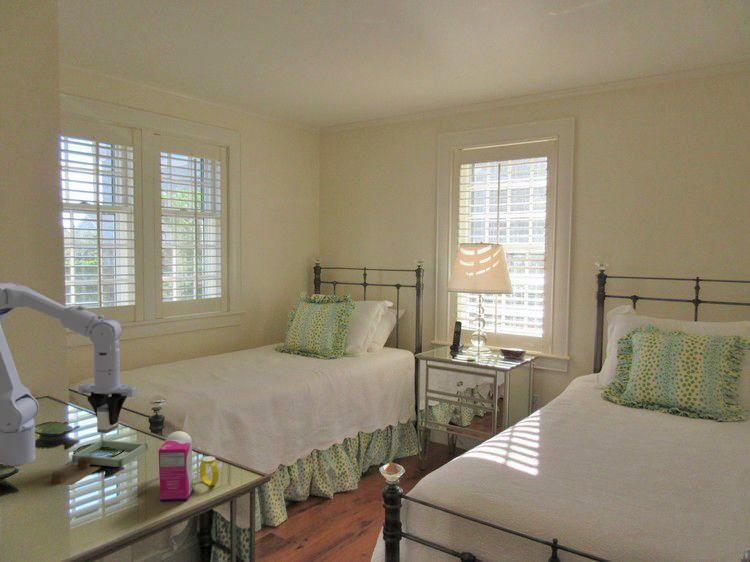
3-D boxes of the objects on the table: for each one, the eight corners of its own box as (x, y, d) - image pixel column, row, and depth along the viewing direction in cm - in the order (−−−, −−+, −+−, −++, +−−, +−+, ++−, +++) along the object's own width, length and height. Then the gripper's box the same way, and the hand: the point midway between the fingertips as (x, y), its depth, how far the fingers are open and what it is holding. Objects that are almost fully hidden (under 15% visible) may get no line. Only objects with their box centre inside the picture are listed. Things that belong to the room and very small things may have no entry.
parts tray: (72, 465, 135) (72, 455, 135) (101, 449, 146) (101, 439, 146) (121, 470, 133) (121, 459, 133) (147, 453, 144) (147, 443, 143)
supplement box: (166, 489, 123) (165, 439, 122) (193, 489, 123) (193, 438, 122) (158, 502, 117) (157, 449, 116) (187, 501, 118) (187, 448, 117)
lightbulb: (183, 485, 125) (183, 437, 124) (158, 482, 126) (158, 435, 126) (197, 474, 131) (197, 428, 130) (173, 471, 132) (173, 426, 132)
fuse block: (39, 485, 124) (39, 472, 124) (71, 467, 134) (71, 456, 134) (71, 488, 123) (71, 476, 122) (101, 470, 132) (101, 458, 132)
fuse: (97, 432, 136) (96, 408, 135) (109, 426, 140) (108, 403, 140) (107, 433, 135) (106, 408, 135) (118, 427, 140) (118, 403, 139)
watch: (221, 486, 126) (222, 461, 125) (210, 490, 123) (211, 465, 123) (207, 477, 130) (208, 452, 129) (196, 480, 128) (197, 455, 127)
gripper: (69, 370, 134) (70, 426, 135) (123, 374, 132) (124, 430, 133) (88, 364, 141) (90, 417, 142) (141, 367, 139) (142, 421, 139)
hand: (108, 423), depth 138 cm, fingers closed on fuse, 3 cm apart
